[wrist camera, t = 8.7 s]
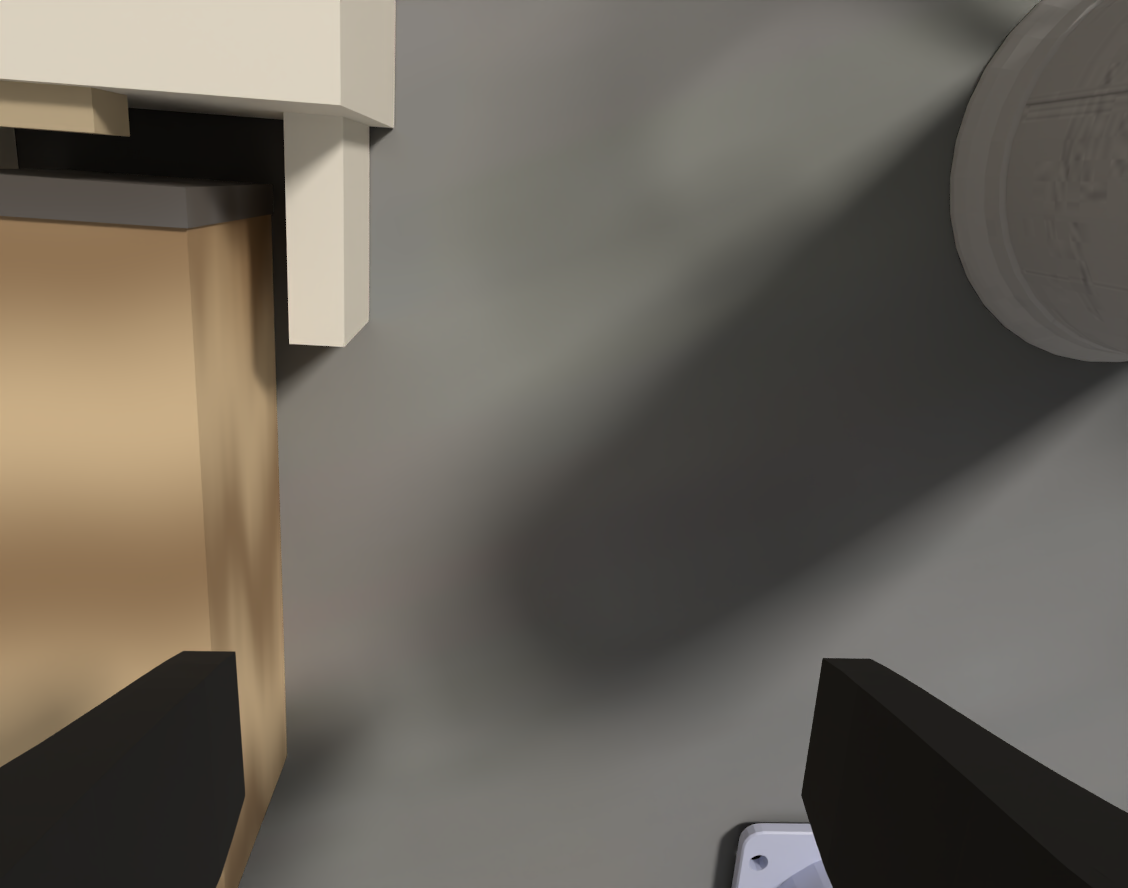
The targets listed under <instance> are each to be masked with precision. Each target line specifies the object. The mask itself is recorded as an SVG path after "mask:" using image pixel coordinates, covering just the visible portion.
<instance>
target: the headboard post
mask: <svg viewBox="0 0 1128 888" xmlns="http://www.w3.org/2000/svg"><path fill="white" fill-rule="evenodd" d="M395 4H396V0H0V169H19V167H18V158H17V149H16V140H15V131H14V128H19V129H33V130H46V131H60V132H73V133H87V134H100V135H114V136H127V137H130V129H129V116H128V108H138V109H151V110H164V111H177V112H190V113H203V114H216V115H229V116H242V117H255V118H268V119H281V120H284V157H285V196H286V236H287V275H288V315H289V344H301V345H319V346H337V347H345V346H346V345H347V344H348V343H349V342H350V340H351V339H352V338H353V337H354V336H355V335H356V334H357V333H358V332H359V331H360V330H361V329H362V328H363V327H364V326H365V325H366V323H367V322H368V321H369V126H372V127H385V128H394V99H395Z"/></svg>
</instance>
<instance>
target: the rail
mask: <svg viewBox="0 0 1128 888" xmlns="http://www.w3.org/2000/svg"><path fill="white" fill-rule="evenodd" d="M271 214H274V212H273V184H264V183H250V182H236V181H222V180H208V179H194V178H180V177H166V176H152V175H138V174H124V173H110V172H96V171H82V170H68V169H0V767H1V766H3V765H5V764H6V763H8V762H10V761H11V760H13V759H15V758H16V757H18V756H20V755H21V754H23V753H25V752H26V751H28V750H30V749H31V748H33V747H35V746H36V745H38V744H39V743H41V742H43V741H44V740H46V739H47V738H49V737H50V736H52V735H53V734H55V733H56V732H58V731H60V730H61V729H63V728H64V727H66V726H67V725H69V724H70V723H72V722H73V721H75V720H76V719H78V718H79V717H81V716H82V715H84V714H85V713H87V712H89V711H90V710H92V709H93V708H95V707H96V706H98V705H99V704H101V703H102V702H104V701H105V700H107V699H108V698H110V697H111V696H113V695H114V694H116V693H117V692H119V691H120V690H122V689H123V688H125V687H126V686H128V685H129V684H131V683H132V682H134V681H135V680H137V679H138V678H140V677H141V676H143V675H144V674H146V673H147V672H149V671H151V670H152V669H154V668H155V667H157V666H158V665H160V664H162V663H163V662H165V661H166V660H168V659H170V658H171V657H173V656H175V655H177V654H179V653H180V652H182V651H235V652H236V666H237V681H238V695H239V709H240V724H241V738H242V752H243V767H244V781H245V799H244V802H243V806H242V809H241V813H240V816H239V819H238V823H237V826H236V830H235V833H234V836H233V840H232V843H231V846H230V849H229V852H228V856H227V859H226V862H225V865H224V868H223V871H222V874H221V877H220V880H219V882H218V884H217V887H216V888H238V885H239V883H240V880H241V877H242V875H243V872H244V869H245V867H246V864H247V861H248V859H249V856H250V853H251V851H252V848H253V845H254V843H255V840H256V837H257V835H258V832H259V829H260V827H261V824H262V821H263V819H264V816H265V813H266V811H267V808H268V805H269V803H270V800H271V797H272V795H273V792H274V789H275V787H276V784H277V781H278V779H279V776H280V773H281V771H282V768H283V765H284V763H285V760H286V757H287V740H286V705H285V671H284V637H283V603H282V568H281V534H280V500H279V466H278V432H277V397H276V363H275V329H274V295H273V261H272V227H271Z"/></svg>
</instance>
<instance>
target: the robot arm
mask: <svg viewBox="0 0 1128 888" xmlns="http://www.w3.org/2000/svg"><path fill="white" fill-rule="evenodd" d="M801 796H802V799H803V802H804V806H805V809H806V812H807V815H808V819H809V822H810V824H789V823H758V824H752V825H750V826H748V827H746V828H745V829H744V830H743V832H742V833H741V835H740V838H739V844H738V850H737V856H736V863H735V869H734V875H733V881H732V888H1128V813H1127V812H1125V811H1123V810H1121V809H1119V808H1118V807H1116V806H1114V805H1112V804H1110V803H1108V802H1107V801H1105V800H1103V799H1101V798H1100V797H1098V796H1096V795H1094V794H1093V793H1091V792H1089V791H1087V790H1086V789H1084V788H1082V787H1080V786H1079V785H1077V784H1075V783H1073V782H1072V781H1070V780H1068V779H1066V778H1065V777H1063V776H1061V775H1059V774H1058V773H1056V772H1054V771H1053V770H1051V769H1049V768H1048V767H1046V766H1044V765H1043V764H1041V763H1039V762H1038V761H1036V760H1034V759H1033V758H1031V757H1029V756H1028V755H1026V754H1024V753H1023V752H1021V751H1019V750H1018V749H1016V748H1015V747H1013V746H1011V745H1010V744H1008V743H1007V742H1005V741H1003V740H1002V739H1000V738H999V737H997V736H995V735H994V734H992V733H991V732H989V731H987V730H986V729H984V728H983V727H981V726H980V725H978V724H976V723H975V722H973V721H972V720H970V719H969V718H967V717H965V716H964V715H962V714H961V713H959V712H958V711H956V710H954V709H953V708H951V707H950V706H948V705H947V704H945V703H944V702H942V701H940V700H939V699H937V698H936V697H934V696H933V695H931V694H929V693H928V692H926V691H925V690H923V689H922V688H920V687H918V686H917V685H915V684H914V683H912V682H910V681H909V680H907V679H905V678H904V677H902V676H901V675H899V674H897V673H896V672H894V671H892V670H890V669H889V668H887V667H885V666H883V665H881V664H879V663H877V662H875V661H873V660H871V659H843V658H823V660H822V666H821V673H820V679H819V685H818V692H817V698H816V705H815V711H814V717H813V724H812V730H811V737H810V743H809V749H808V756H807V762H806V769H805V775H804V781H803V788H802V794H801ZM244 799H245V781H244V767H243V752H242V738H241V724H240V709H239V695H238V681H237V666H236V652H235V651H182V652H180V653H179V654H177V655H175V656H173V657H171V658H170V659H168V660H166V661H165V662H163V663H162V664H160V665H158V666H157V667H155V668H154V669H152V670H151V671H149V672H147V673H146V674H144V675H143V676H141V677H140V678H138V679H137V680H135V681H134V682H132V683H131V684H129V685H128V686H126V687H125V688H123V689H122V690H120V691H119V692H117V693H116V694H114V695H113V696H111V697H110V698H108V699H107V700H105V701H104V702H102V703H101V704H99V705H98V706H96V707H95V708H93V709H92V710H90V711H89V712H87V713H85V714H84V715H82V716H81V717H79V718H78V719H76V720H75V721H73V722H72V723H70V724H69V725H67V726H66V727H64V728H63V729H61V730H60V731H58V732H56V733H55V734H53V735H52V736H50V737H49V738H47V739H46V740H44V741H43V742H41V743H39V744H38V745H36V746H35V747H33V748H31V749H30V750H28V751H26V752H25V753H23V754H21V755H20V756H18V757H16V758H15V759H13V760H11V761H10V762H8V763H6V764H5V765H3V766H1V767H0V888H216V887H217V884H218V882H219V880H220V877H221V874H222V871H223V868H224V865H225V862H226V859H227V856H228V852H229V849H230V846H231V843H232V840H233V836H234V833H235V830H236V826H237V823H238V819H239V816H240V813H241V809H242V806H243V802H244ZM757 855H762V856H761V857H760V858H758V859H754V860H752V859H751V858H753V857H754V856H757Z"/></svg>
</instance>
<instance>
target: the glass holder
mask: <svg viewBox="0 0 1128 888" xmlns="http://www.w3.org/2000/svg"><path fill="white" fill-rule="evenodd" d="M950 216H951V222H952V228H953V233H954V239H955V245H956V249H957V252H958V254H959V257H960V260H961V262H962V265H963V268H964V270H965V273H966V276H967V278H968V280H969V281H970V283H971V285H972V286H973V288H974V290H975V291H976V293H977V294H978V296H979V298H980V299H981V301H982V303H983V304H984V305H985V306H986V307H987V309H988V310H989V311H990V312H991V313H992V314H993V315H994V316H995V317H996V318H997V319H998V320H999V321H1000V322H1001V323H1002V325H1003V326H1004V327H1006V328H1007V329H1009V330H1010V331H1012V332H1013V333H1014V334H1016V335H1017V336H1019V337H1020V338H1022V339H1023V340H1024V341H1026V342H1027V343H1029V344H1031V345H1034V346H1036V347H1038V348H1041V349H1043V350H1045V351H1048V352H1050V353H1052V354H1055V355H1059V356H1063V357H1068V358H1073V359H1078V360H1082V361H1089V362H1124V361H1128V0H1042V1H1040V2H1039V3H1038V4H1037V5H1036V6H1035V7H1034V8H1033V9H1032V10H1031V11H1030V12H1029V13H1028V14H1027V15H1026V16H1025V18H1024V19H1023V20H1022V21H1021V22H1020V23H1019V24H1018V25H1017V26H1016V27H1015V28H1014V29H1013V30H1012V31H1011V32H1010V34H1009V35H1008V36H1007V38H1006V39H1005V41H1004V42H1003V43H1002V45H1001V46H1000V48H999V49H998V51H997V52H996V54H995V55H994V56H993V58H992V59H991V61H990V62H989V64H988V65H987V67H986V68H985V70H984V72H983V74H982V76H981V78H980V80H979V82H978V84H977V86H976V88H975V90H974V92H973V94H972V96H971V98H970V100H969V102H968V105H967V108H966V111H965V114H964V117H963V120H962V123H961V127H960V130H959V133H958V136H957V139H956V143H955V150H954V156H953V162H952V168H951V175H950Z"/></svg>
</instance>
